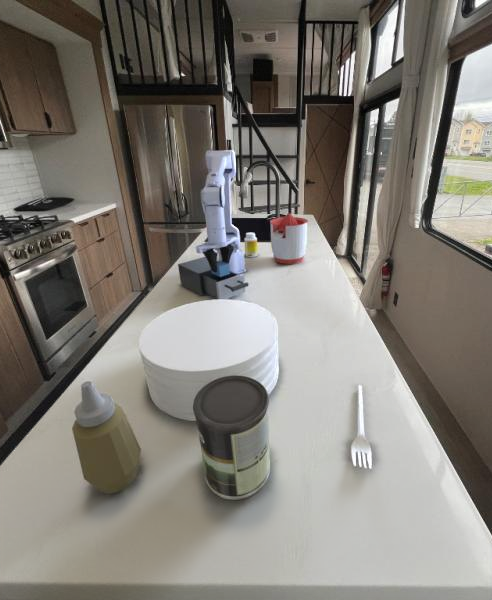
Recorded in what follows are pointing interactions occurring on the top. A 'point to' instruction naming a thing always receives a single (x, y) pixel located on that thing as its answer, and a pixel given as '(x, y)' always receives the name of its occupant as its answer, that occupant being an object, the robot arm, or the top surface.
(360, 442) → the fork
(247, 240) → the supplement bottle
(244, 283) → the grey drawer
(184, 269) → the small drawer box
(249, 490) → the coffee can
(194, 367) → the plate stack
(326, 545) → the top surface
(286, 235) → the citrus juicer
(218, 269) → the block
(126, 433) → the squeeze bottle
